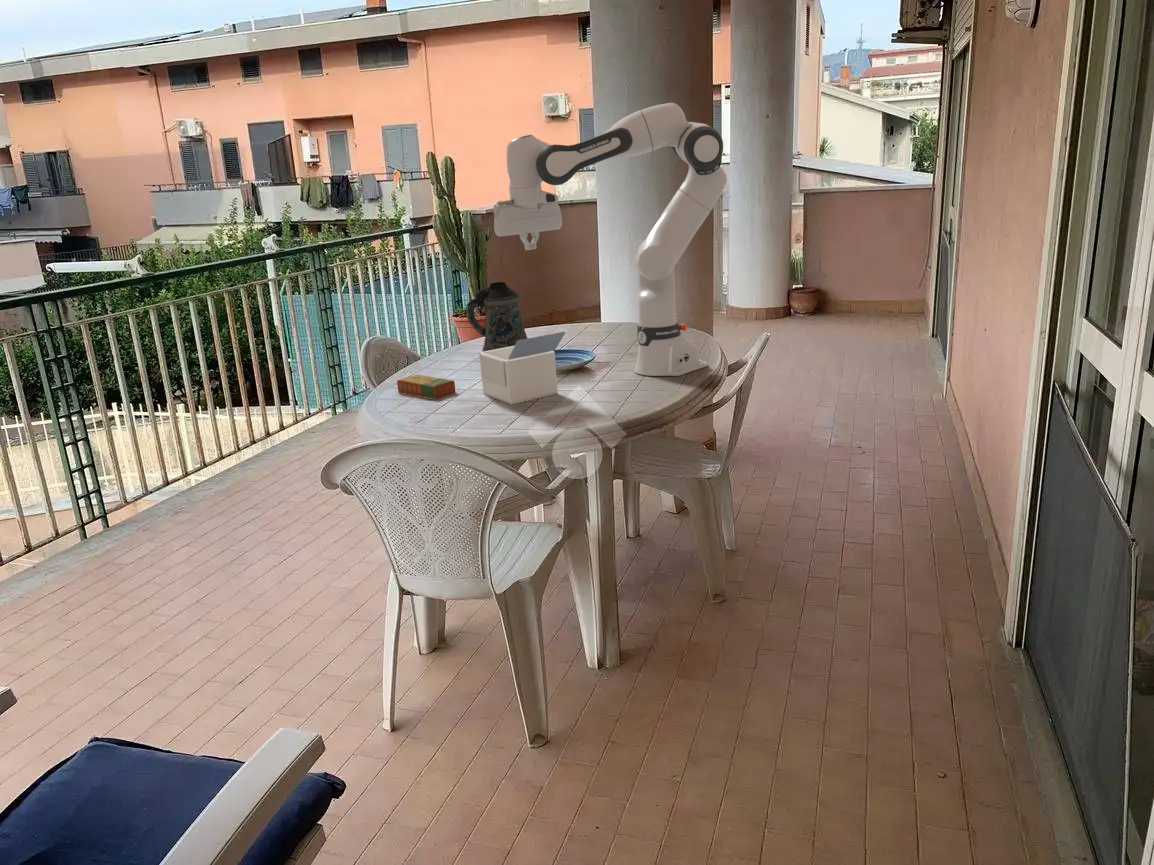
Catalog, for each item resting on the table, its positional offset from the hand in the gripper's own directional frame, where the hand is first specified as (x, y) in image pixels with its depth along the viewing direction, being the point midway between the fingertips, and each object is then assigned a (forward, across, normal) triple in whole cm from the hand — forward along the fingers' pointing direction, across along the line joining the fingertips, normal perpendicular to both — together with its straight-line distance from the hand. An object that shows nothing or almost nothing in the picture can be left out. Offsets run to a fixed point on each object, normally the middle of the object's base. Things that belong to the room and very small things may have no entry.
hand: (530, 249), depth 231 cm
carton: (+39, -30, +16) cm, 52 cm away
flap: (+23, -11, -17) cm, 30 cm away
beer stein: (+38, +9, +39) cm, 56 cm away
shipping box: (+39, -11, -5) cm, 40 cm away
